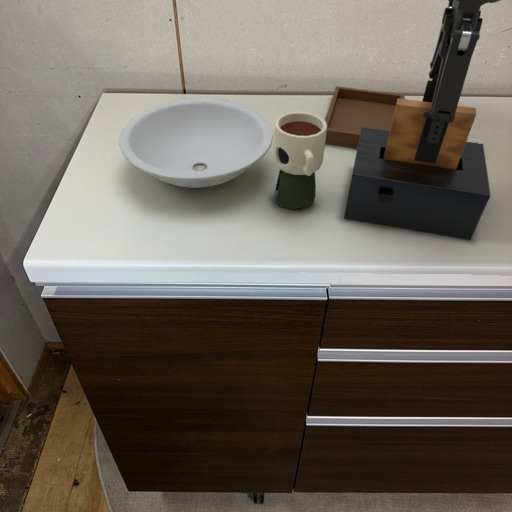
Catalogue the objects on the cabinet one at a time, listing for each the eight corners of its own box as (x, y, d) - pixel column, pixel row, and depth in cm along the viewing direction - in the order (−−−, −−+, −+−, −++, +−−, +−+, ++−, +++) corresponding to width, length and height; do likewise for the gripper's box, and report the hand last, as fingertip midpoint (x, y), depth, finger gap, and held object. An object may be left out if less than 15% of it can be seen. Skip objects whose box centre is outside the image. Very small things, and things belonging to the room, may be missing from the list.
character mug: (264, 181, 76) (266, 107, 67) (306, 176, 78) (314, 102, 68) (281, 225, 69) (286, 148, 60) (327, 218, 70) (339, 142, 61)
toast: (448, 182, 70) (475, 107, 61) (448, 190, 69) (476, 114, 60) (380, 172, 72) (397, 97, 63) (379, 179, 70) (396, 104, 62)
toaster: (466, 187, 76) (483, 143, 70) (470, 244, 66) (491, 199, 61) (353, 169, 79) (361, 127, 73) (343, 222, 69) (351, 178, 64)
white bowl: (246, 122, 90) (245, 89, 85) (293, 196, 74) (295, 160, 69) (118, 143, 84) (110, 109, 80) (138, 228, 68) (130, 191, 64)
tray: (334, 99, 97) (335, 86, 95) (401, 107, 95) (404, 94, 93) (320, 143, 85) (321, 129, 83) (397, 154, 82) (400, 140, 80)
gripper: (442, -70, 58) (401, 103, 74) (446, -21, 43) (393, 182, 59) (508, -66, 56) (451, 109, 72) (534, -14, 42) (456, 192, 58)
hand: (425, 142), depth 66 cm, fingers open, 9 cm apart
